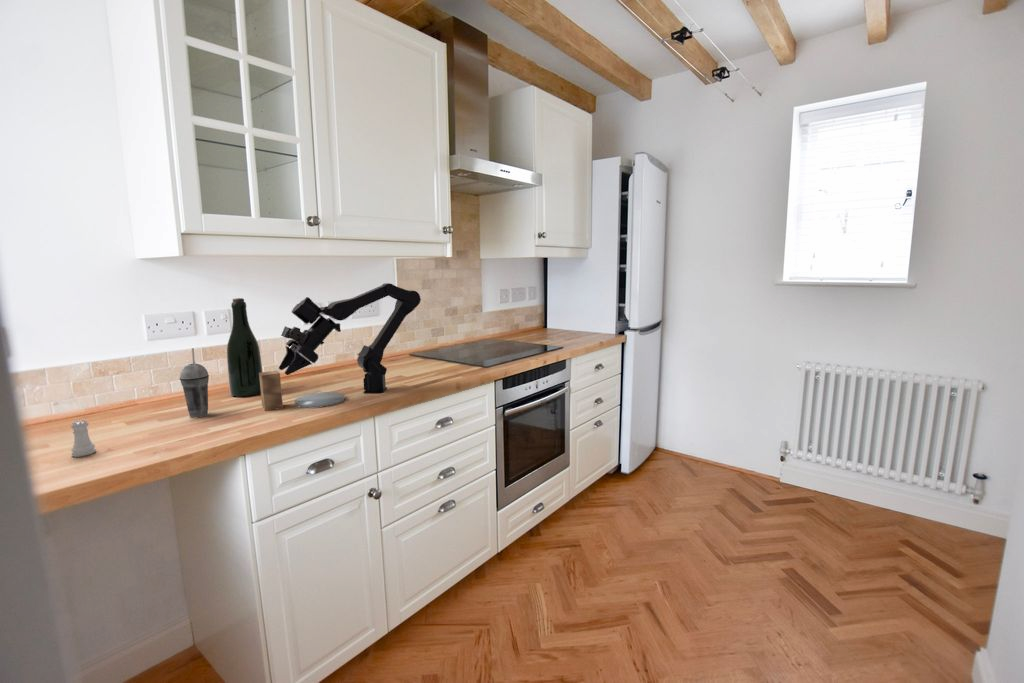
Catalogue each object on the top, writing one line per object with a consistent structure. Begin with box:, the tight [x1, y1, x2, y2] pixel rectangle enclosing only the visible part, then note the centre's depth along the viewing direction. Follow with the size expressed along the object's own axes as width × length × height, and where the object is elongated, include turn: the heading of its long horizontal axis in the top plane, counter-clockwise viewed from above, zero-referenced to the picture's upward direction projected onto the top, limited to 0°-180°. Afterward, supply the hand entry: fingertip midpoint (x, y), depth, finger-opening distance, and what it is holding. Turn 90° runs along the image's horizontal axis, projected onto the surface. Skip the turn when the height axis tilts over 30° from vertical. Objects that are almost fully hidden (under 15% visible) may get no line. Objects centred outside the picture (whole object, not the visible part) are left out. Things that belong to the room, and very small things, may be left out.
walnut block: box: [259, 370, 284, 411], centre depth 151 cm, size 5×5×11 cm
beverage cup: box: [179, 348, 210, 418], centre depth 143 cm, size 7×7×20 cm
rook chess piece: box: [70, 419, 97, 458], centre depth 115 cm, size 4×4×8 cm
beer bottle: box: [226, 297, 264, 398], centre depth 167 cm, size 10×10×33 cm
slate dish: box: [294, 391, 346, 408], centre depth 158 cm, size 15×15×1 cm
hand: (282, 371), depth 152 cm, fingers open, 9 cm apart
